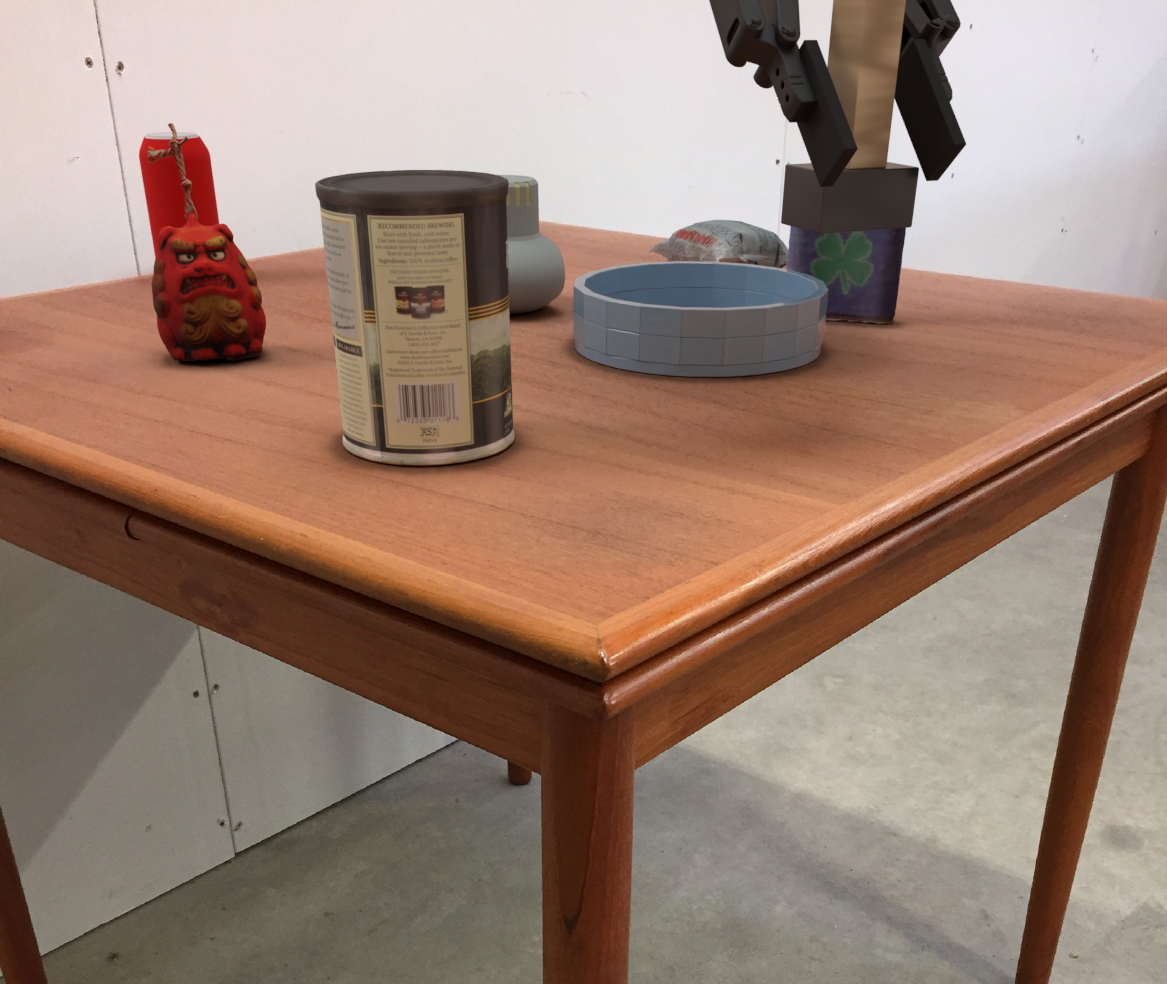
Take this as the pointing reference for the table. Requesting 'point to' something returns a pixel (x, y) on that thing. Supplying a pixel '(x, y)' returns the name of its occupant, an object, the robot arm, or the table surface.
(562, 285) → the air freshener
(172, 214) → the beverage can
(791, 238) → the flask
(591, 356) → the bowl
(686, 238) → the packaged food
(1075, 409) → the table surface
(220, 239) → the red clay folk toy
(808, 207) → the brush
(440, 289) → the coffee can
